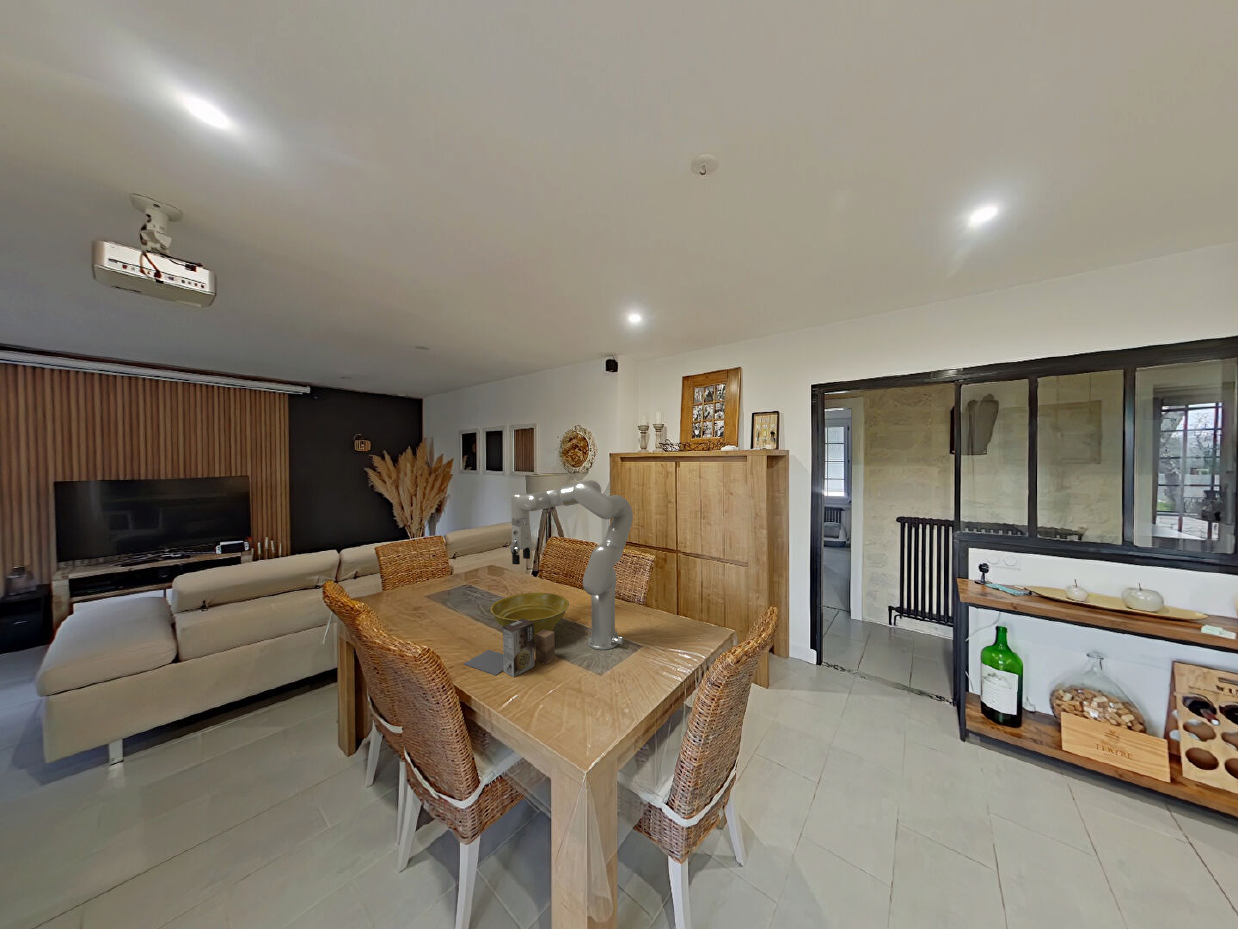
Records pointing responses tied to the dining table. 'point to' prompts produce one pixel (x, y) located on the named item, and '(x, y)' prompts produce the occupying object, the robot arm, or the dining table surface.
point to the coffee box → (518, 647)
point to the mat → (487, 662)
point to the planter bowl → (531, 610)
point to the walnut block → (544, 647)
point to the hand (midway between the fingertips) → (521, 561)
